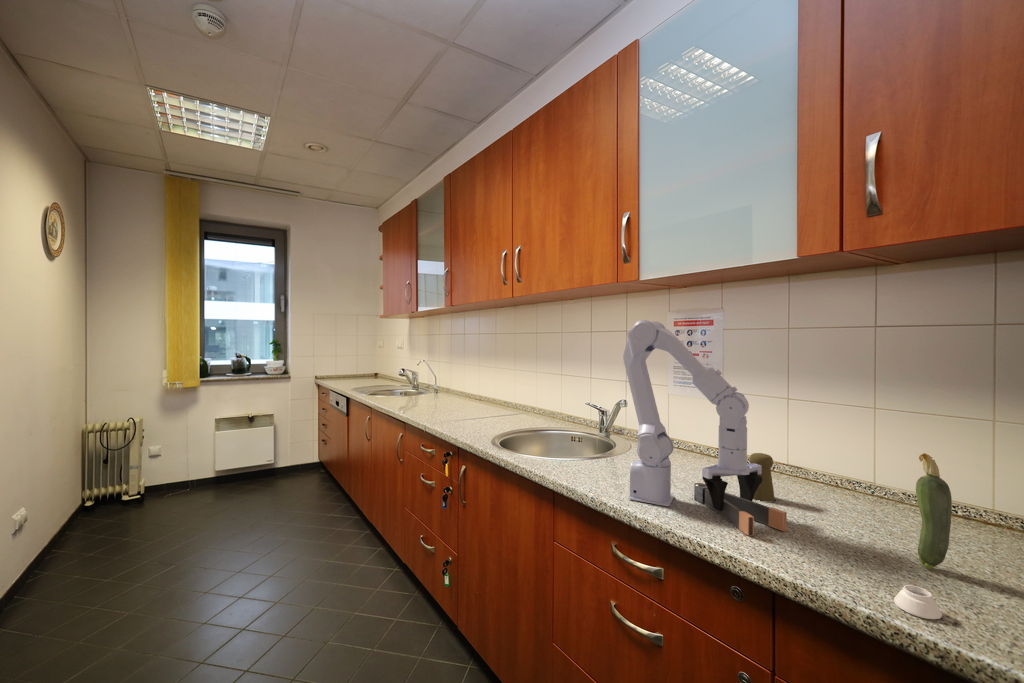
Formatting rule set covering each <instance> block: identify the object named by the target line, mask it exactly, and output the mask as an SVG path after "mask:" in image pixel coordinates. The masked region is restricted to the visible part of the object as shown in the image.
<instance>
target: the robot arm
mask: <svg viewBox="0 0 1024 683" xmlns="http://www.w3.org/2000/svg"><path fill="white" fill-rule="evenodd" d="M626 334H627V341H626V344H625V347H624V352H623V356H622V357H623V363H624V364H623V365H624V367H625V372H626V376H627V381H628V384H629V389H630V392H631V397H632V400H633V404H634V409H635V413H636V418H637V422H638V430H637V434H636V435H637V436H636V437H637V441H638V443H637V449H636V453H637V456H638V458H639V460H636V459H635V460H632V462H631V464H630V469H629V496H628V499H629V500H630V501H636V502H641V503H648V504H653V505H657V506H662V507H663V506H664V507H670V506H671V504H672V503H673V500H674V498H675V495H674V494H672V493H671V492H672V491H671V487H672V486H671V483H672V478H671V477H672V462H671V460H670V456H671V454H672V453H673V451H674V443H673V440H672V439H671V437H670V436H669V435H668V433H667V430H666V427H665V425H664V424H663V422H661V418H660V415H659V411H658V410H659V409H658V406H657V402H656V398H655V394H654V390H653V386H652V382H651V378H650V374H649V370H648V366H647V362H646V360H647V359H648V358H649V356H650V355H651V354H652V352H653V351H654V350H655V349H657V350H661V351H665V352H668V353H669V355H671V356H672V357H673V358H674V360H676V361H677V362H678V363H679V364H680V365H681V366H682V367H684V368H685V370H686V371H688V373H690V375H692V376H691V377H692V384H693V385H694V387H695V388H696V389H697V390H698V391H699V392H701V394H702V395H703V396H704V397H705V398H706V399H707V400H708V401H709V402H710V403H711V404H712V405H715V410H716V413H717V415H718V416H719V425H718V453H717V454H718V457H717V459H718V460H717V461H718V462H717V464H714V465H710V466H706V467H702V468H701V469H702V473H701V475H702V480H703V482H704V484H706V486H707V488H708V490H709V493H710V496H711V500H712V504H713V508H714V509H716V510H718V511H723V505H724V494H725V492H726V489H727V486H728V484H729V483H728V482H727V481H724V480H723V478H724V477H732V476H736V477H737V481H738V482H737V483H738V486H739V497H741V498H744V499H747V500H750V501H753V497H754V494H755V492H756V490H757V488H758V487H759V485H760V484H761V483H762V477H761V476H758V475H757V474H762V466H761V465H758V464H750V463H748V427H747V424H748V420H747V416H746V414H747V413H748V412H749V408H750V407H749V406H750V405H749V404H750V403H749V401H748V399H747V398H746V396H745V395H744V394H743V393H741V392H738V388H737V387H736V386H732V385H731V384H730V383H729V382H728V381H727V380H726V379H725V378H724V377H723V376H722V374H723V373H722V371H721V370H720V369H718V368H716V369H715V368H714V367H713V366H704V365H703V364H702V363H701V362H700V361H699V360H698V359H697V357H695V355H694V354H693V353H692V352H691V351H690V350H689V349H688V348H687V347H686V346H685V345H684V343H682V341H681V340H680V339H679V338H678V337H677V336H676V335H675V333H673V332H672V331H671V330H670V329H668V328H666V327H665V326H664V324H662V322H659V321H649V320H647V319H641V320H638V321H636V322H634V324H633V325H632V326H631V328H630V329H629V330H628V331H627V333H626ZM722 477H723V478H722Z"/></svg>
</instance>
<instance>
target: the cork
mask: <svg viewBox="0 0 1024 683" xmlns="http://www.w3.org/2000/svg"><path fill="white" fill-rule="evenodd" d="M748 459H749V464H758V465H761V466H762V474H757V475H758V476H761V477H762V483H761V484H760V485H759V487H758V488H757V490H756V492H755V494H754V497H753V499H755V500H754V501H757V500H760V501H759V502H762V501H773V500H774V501H775V491H774V484H773V478H772V477H773V476H772V469H771V468H772V467H773V465H774V459H773V458H772V456H771V455H769V454H767V453H762V452H753V453H751V454H750V456H749V458H748ZM774 501H773V502H774Z"/></svg>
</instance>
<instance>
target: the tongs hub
mask: <svg viewBox="0 0 1024 683" xmlns="http://www.w3.org/2000/svg"><path fill="white" fill-rule="evenodd" d="M693 486H694V487H693V488H694V491H693V492H694V493H693V498H694V501H696V502H697V503H700V504H701V505H706V504H705V489H708V488H707V486H706V484H705V483H703V482H694V485H693Z"/></svg>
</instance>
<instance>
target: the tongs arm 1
mask: <svg viewBox="0 0 1024 683" xmlns="http://www.w3.org/2000/svg"><path fill="white" fill-rule="evenodd" d="M704 505H706V506H708V507H709V508H710V509H712V510H713V511H714V512H716V513H717V514H718V515H720V516H722V517H723V518H724V519H725V520H727V521H729V522H730V523H731V524H732V525H734V526H736V527H737V528H738V529H739V531H741V532H742V533H744V534H745V535H746V536H754V535H755V532H754V531H755V530H754V528H755V520H754V517H753V516H752V515H750V514H748V513H747V512H745V511H742V510H740V509H739V508H737V507H736V506H734V505H733V504H731V503H729V502H728V501H726V500H725V499H724V505H723V511H718V510H716V509H714V508H713V504H712V500H711V496H710V493H709V490H708V489H705V504H704Z"/></svg>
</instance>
